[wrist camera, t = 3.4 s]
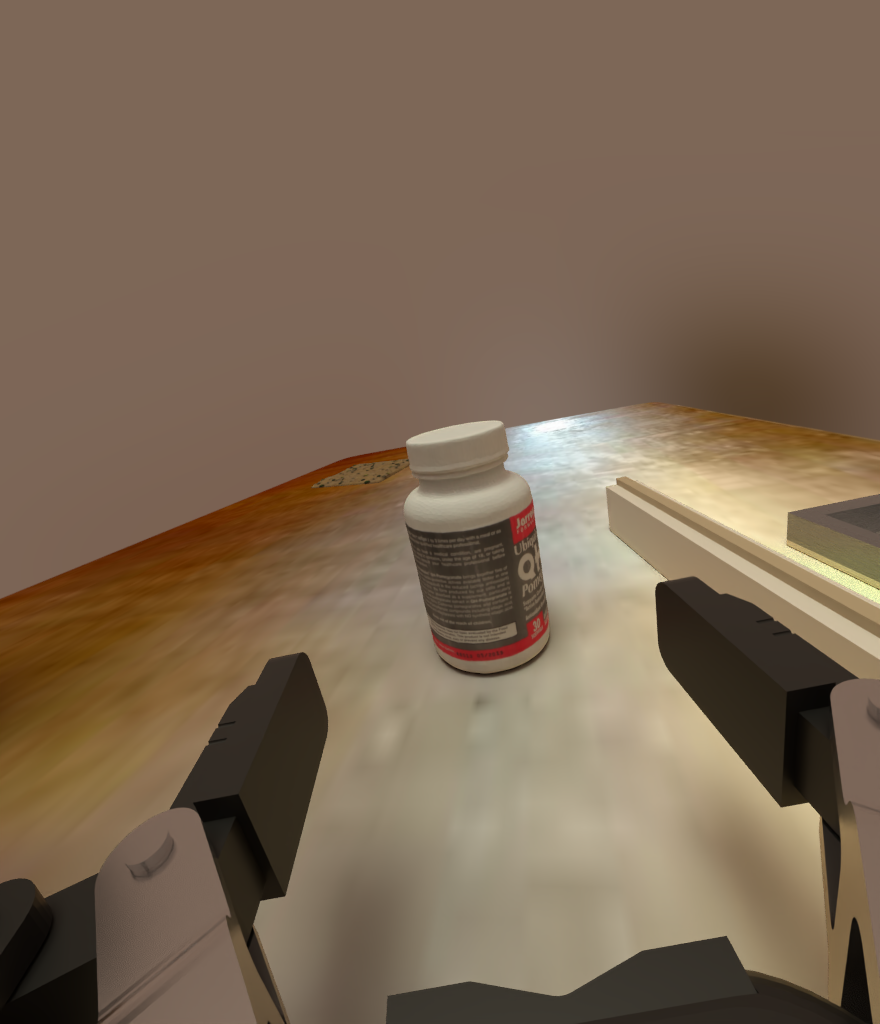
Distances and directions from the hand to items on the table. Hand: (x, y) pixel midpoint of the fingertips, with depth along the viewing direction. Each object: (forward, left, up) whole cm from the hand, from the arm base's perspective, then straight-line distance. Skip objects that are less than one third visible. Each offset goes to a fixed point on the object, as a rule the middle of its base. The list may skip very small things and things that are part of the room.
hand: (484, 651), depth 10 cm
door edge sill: (-1, +14, -6) cm, 15 cm away
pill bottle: (-7, +6, -6) cm, 11 cm away
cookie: (-51, +23, -7) cm, 56 cm away
